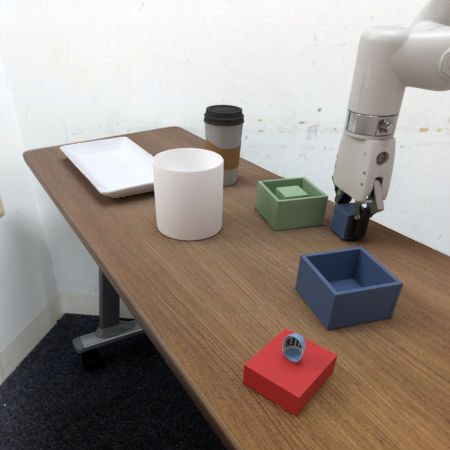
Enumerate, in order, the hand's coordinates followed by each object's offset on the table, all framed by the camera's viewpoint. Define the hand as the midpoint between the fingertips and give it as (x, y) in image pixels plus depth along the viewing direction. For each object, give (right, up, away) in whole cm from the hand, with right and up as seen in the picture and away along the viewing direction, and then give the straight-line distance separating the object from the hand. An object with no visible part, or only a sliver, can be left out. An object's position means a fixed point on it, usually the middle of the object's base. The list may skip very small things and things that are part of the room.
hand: (348, 230), depth 75 cm
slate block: (0, 0, 0) cm, 0 cm away
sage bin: (-10, +4, +6) cm, 12 cm away
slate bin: (-6, -13, -16) cm, 21 cm away
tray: (-46, +16, +20) cm, 53 cm away
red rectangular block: (-15, -21, -28) cm, 38 cm away
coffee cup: (-22, +14, +19) cm, 32 cm away
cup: (-28, +1, +2) cm, 28 cm away
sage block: (-10, +4, +5) cm, 12 cm away
